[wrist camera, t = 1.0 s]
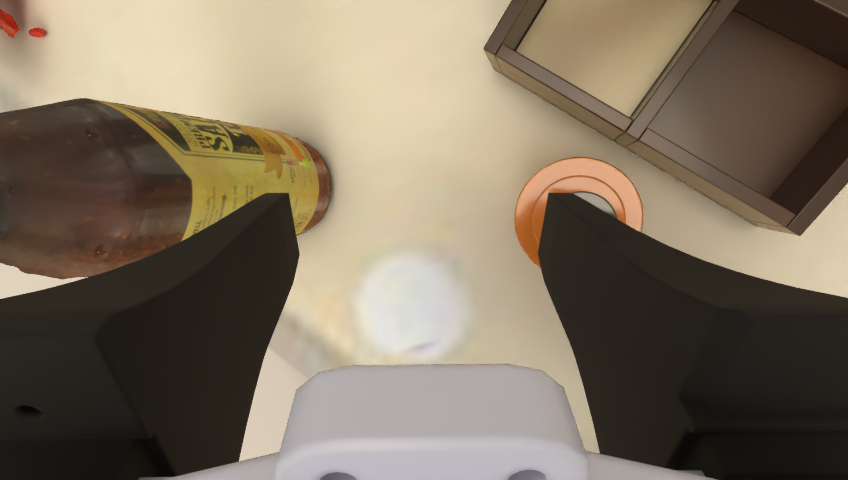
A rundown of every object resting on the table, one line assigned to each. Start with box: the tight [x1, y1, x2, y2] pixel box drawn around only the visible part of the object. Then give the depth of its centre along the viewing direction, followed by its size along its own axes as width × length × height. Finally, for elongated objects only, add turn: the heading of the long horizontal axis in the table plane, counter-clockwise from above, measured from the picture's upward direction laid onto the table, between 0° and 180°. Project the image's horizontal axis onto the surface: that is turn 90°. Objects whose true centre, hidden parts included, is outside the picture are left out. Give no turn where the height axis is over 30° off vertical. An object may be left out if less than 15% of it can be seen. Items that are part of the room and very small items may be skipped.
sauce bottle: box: [0, 98, 331, 279], centre depth 17 cm, size 6×6×20 cm
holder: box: [484, 0, 848, 236], centre depth 19 cm, size 15×8×4 cm, turn 58°
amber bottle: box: [515, 157, 643, 268], centre depth 19 cm, size 5×5×8 cm
